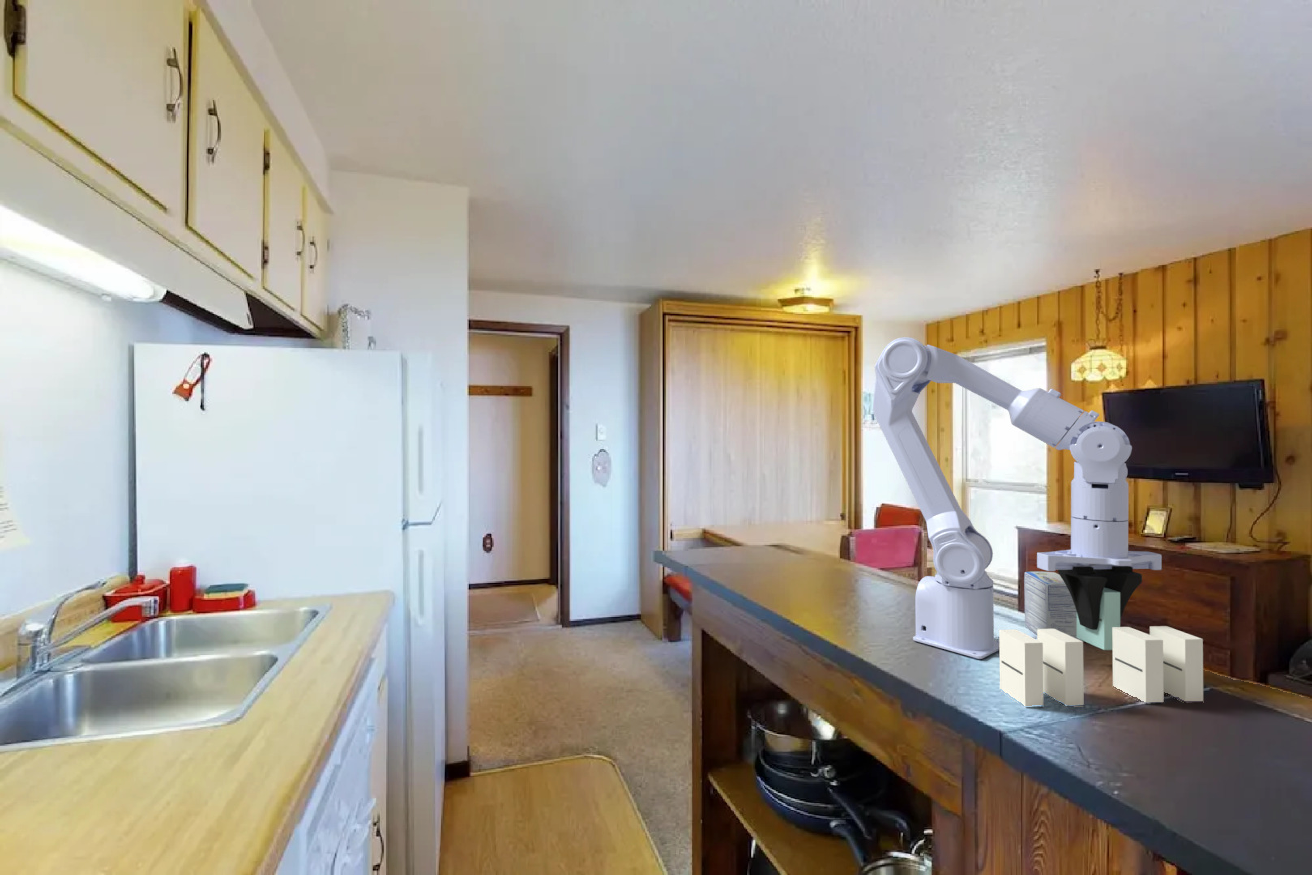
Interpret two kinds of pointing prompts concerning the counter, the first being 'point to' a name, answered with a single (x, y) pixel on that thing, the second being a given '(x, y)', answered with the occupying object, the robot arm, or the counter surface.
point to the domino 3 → (1103, 621)
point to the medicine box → (1049, 603)
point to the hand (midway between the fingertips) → (1098, 626)
